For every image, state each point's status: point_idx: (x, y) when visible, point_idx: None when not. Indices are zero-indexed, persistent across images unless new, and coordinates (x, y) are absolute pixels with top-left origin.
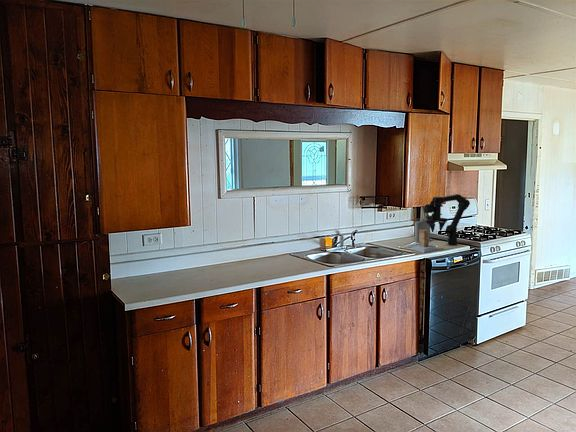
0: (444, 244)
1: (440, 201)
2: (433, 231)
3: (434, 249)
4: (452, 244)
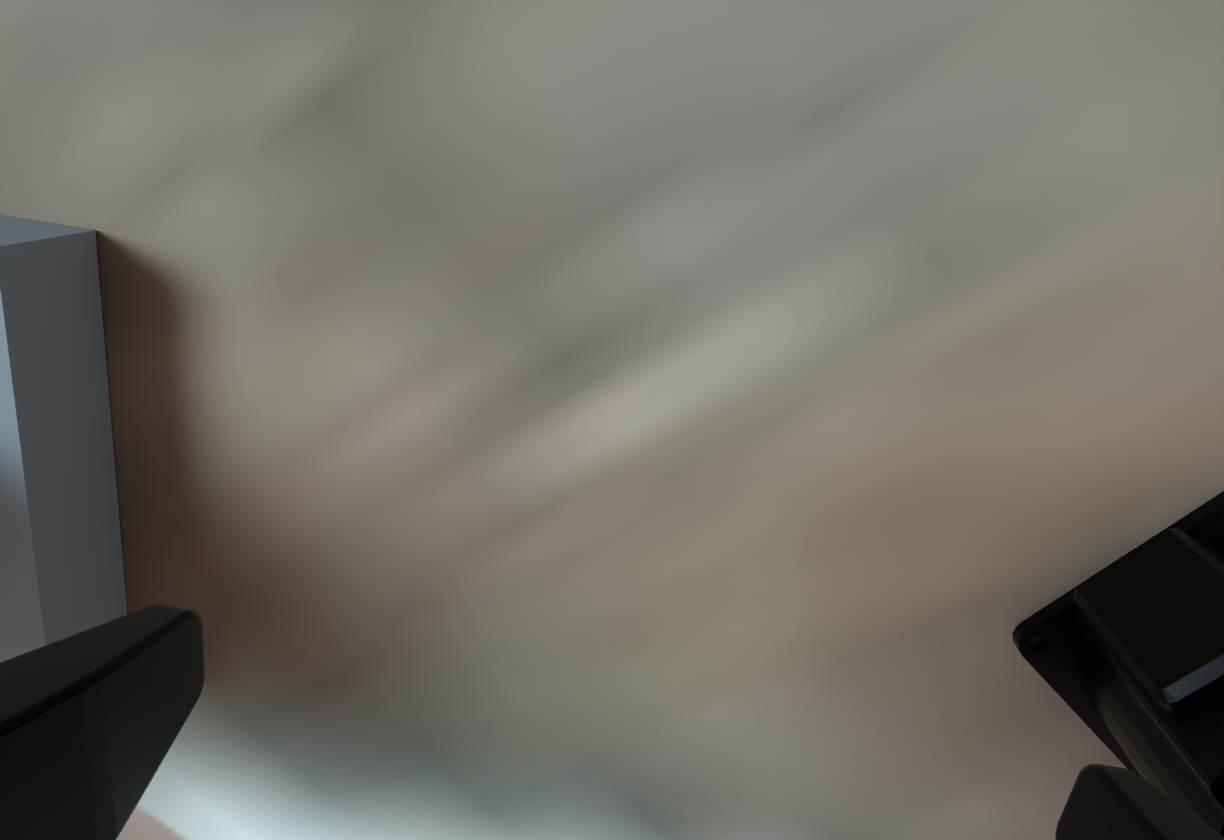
0: (1068, 450)
1: None
2: (158, 741)
3: None
4: (1086, 698)
